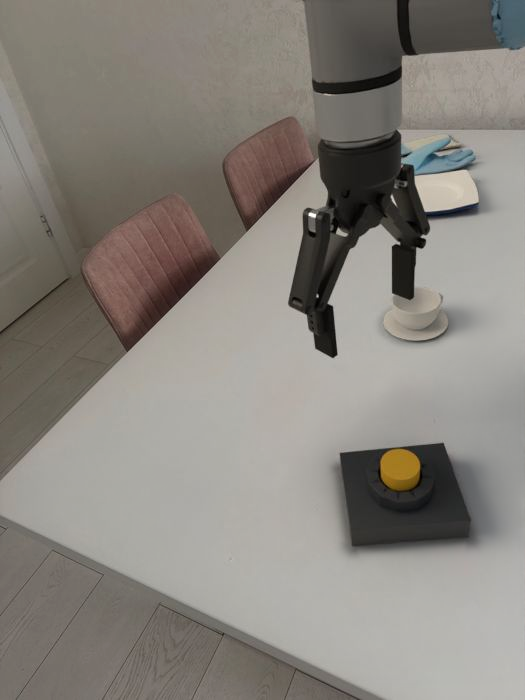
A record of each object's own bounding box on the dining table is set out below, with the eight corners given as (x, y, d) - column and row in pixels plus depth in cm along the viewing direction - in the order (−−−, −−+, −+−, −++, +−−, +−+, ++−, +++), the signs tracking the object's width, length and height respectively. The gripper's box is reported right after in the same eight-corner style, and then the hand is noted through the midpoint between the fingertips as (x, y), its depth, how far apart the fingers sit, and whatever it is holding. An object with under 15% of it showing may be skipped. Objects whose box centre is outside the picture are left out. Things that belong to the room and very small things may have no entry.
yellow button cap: (414, 458, 55) (415, 446, 53) (423, 489, 52) (424, 477, 50) (377, 462, 55) (377, 450, 54) (384, 493, 52) (384, 481, 51)
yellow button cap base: (441, 459, 59) (444, 432, 56) (468, 537, 52) (473, 509, 49) (341, 469, 61) (338, 442, 58) (351, 546, 53) (349, 520, 50)
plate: (469, 178, 119) (470, 167, 117) (482, 216, 104) (484, 204, 102) (381, 186, 124) (381, 175, 122) (382, 223, 108) (381, 212, 107)
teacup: (408, 351, 75) (409, 326, 72) (371, 319, 83) (370, 296, 80) (462, 327, 77) (465, 302, 74) (421, 298, 85) (422, 275, 82)
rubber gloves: (334, 156, 145) (332, 133, 141) (446, 136, 144) (448, 112, 140) (353, 191, 124) (352, 165, 120) (485, 167, 122) (488, 140, 118)
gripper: (409, 92, 53) (405, 266, 66) (226, 176, 42) (266, 364, 55) (474, 96, 48) (457, 283, 61) (286, 192, 37) (314, 394, 50)
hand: (366, 322), depth 58 cm, fingers open, 13 cm apart
